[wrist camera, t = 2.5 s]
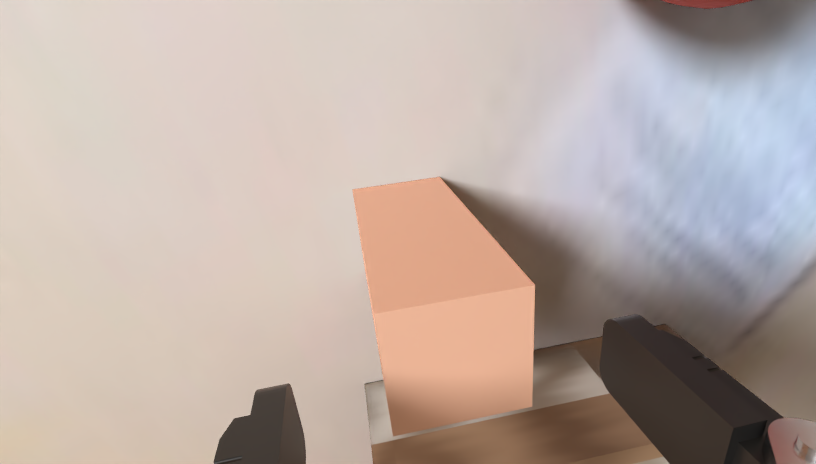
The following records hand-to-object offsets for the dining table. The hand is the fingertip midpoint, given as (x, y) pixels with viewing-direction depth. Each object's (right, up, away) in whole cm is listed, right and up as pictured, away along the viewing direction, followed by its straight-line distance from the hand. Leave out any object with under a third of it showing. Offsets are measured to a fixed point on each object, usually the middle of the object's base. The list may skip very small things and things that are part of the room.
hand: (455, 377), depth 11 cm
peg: (-2, +4, +9) cm, 10 cm away
